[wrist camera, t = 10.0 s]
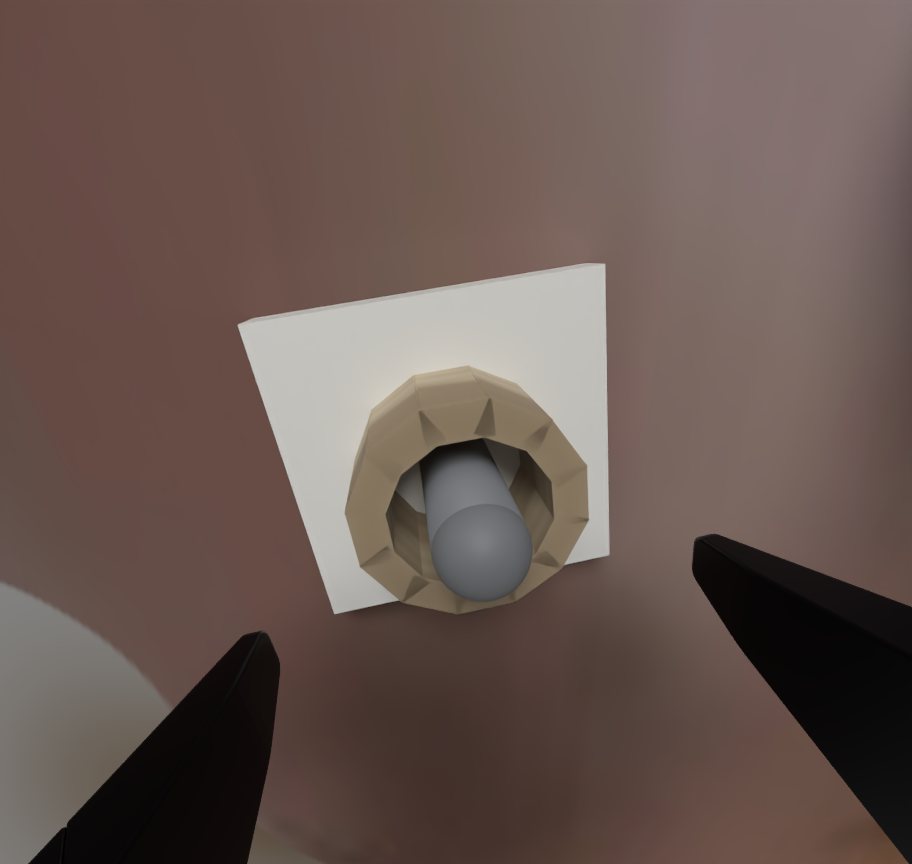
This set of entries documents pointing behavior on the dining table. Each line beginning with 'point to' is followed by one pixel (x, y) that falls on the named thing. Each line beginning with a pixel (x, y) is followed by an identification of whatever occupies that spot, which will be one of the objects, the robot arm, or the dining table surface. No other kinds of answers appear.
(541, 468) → the bead
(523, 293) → the post stand
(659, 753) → the dining table surface
